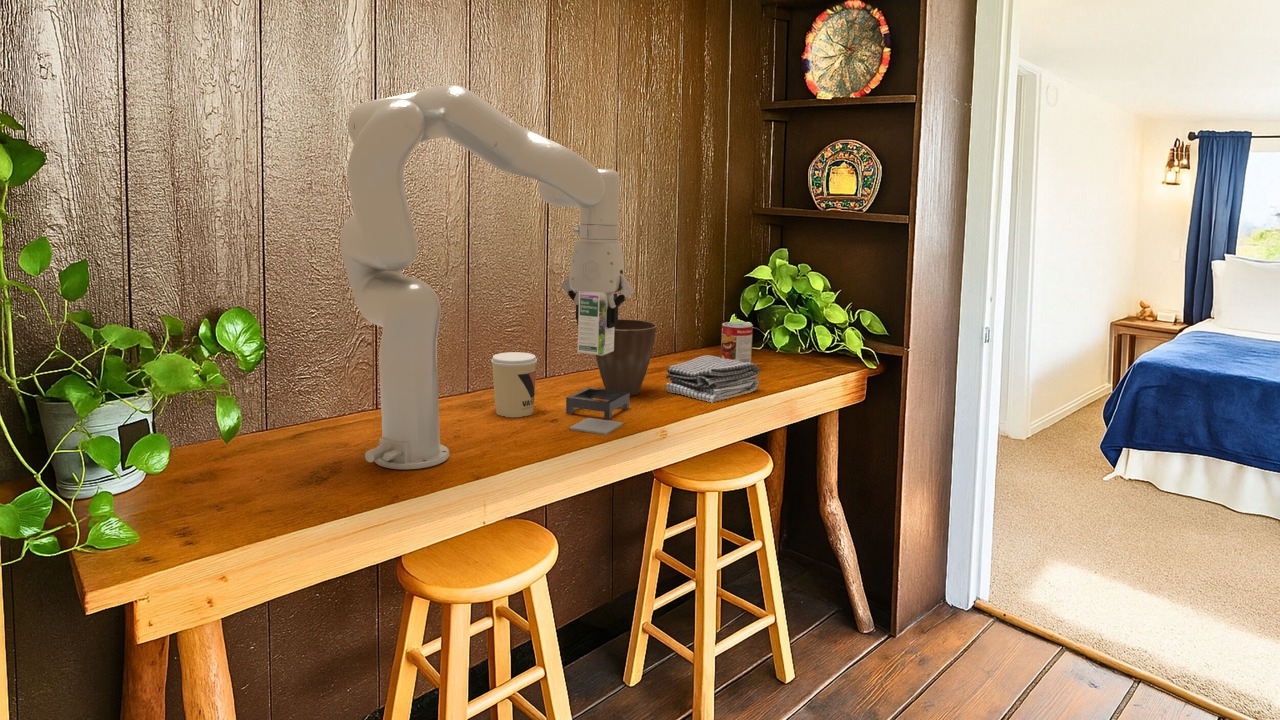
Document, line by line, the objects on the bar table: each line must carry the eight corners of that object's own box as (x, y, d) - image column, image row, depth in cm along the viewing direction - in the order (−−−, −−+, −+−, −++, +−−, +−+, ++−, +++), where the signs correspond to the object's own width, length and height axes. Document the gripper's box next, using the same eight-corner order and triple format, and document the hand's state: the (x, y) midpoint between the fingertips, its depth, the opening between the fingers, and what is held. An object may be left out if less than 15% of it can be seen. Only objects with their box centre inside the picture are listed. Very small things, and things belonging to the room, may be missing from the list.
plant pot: (599, 383, 208) (600, 317, 204) (660, 387, 205) (662, 320, 202) (582, 398, 194) (583, 327, 190) (648, 402, 191) (649, 331, 187)
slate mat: (606, 434, 166) (606, 432, 166) (569, 429, 169) (569, 427, 169) (623, 424, 173) (623, 422, 173) (587, 419, 176) (587, 417, 176)
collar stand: (609, 419, 177) (609, 403, 176) (566, 413, 181) (566, 397, 180) (629, 408, 186) (629, 392, 185) (587, 402, 190) (587, 387, 189)
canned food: (735, 365, 231) (737, 320, 228) (756, 370, 225) (759, 325, 223) (714, 368, 226) (715, 323, 224) (735, 374, 220) (737, 327, 218)
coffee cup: (528, 420, 175) (528, 362, 173) (485, 416, 177) (484, 359, 175) (543, 408, 184) (542, 353, 182) (501, 405, 186) (500, 350, 184)
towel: (761, 392, 203) (763, 359, 202) (709, 405, 191) (710, 370, 189) (713, 380, 214) (714, 349, 212) (660, 392, 201) (661, 359, 200)
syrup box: (576, 353, 171) (577, 280, 168) (589, 348, 176) (591, 277, 173) (602, 356, 169) (604, 282, 166) (614, 351, 174) (617, 279, 171)
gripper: (550, 232, 167) (549, 324, 171) (632, 237, 161) (629, 332, 165) (567, 231, 174) (566, 319, 178) (647, 235, 168) (643, 327, 172)
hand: (596, 324), depth 171 cm, fingers closed on syrup box, 5 cm apart
